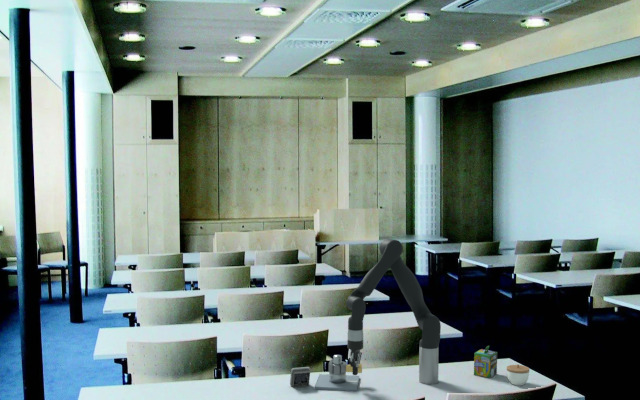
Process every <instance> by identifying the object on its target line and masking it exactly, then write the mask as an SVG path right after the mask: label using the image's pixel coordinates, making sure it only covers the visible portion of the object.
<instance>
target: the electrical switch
mask: <svg viewBox="0 0 640 400" xmlns="http://www.w3.org/2000/svg"><path fill="white" fill-rule="evenodd" d="M310 371H311V367H310V366H304V367H303V366H302V367H293V368H291V369H290V379H289V385H290V386H291V387H293V388H301V387H302V388H305V387H309V386H310V377H311V372H310Z"/></svg>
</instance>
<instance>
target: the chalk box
mask: <svg viewBox="0 0 640 400" xmlns="http://www.w3.org/2000/svg"><path fill="white" fill-rule="evenodd" d="M489 349H490V345H487V346H486V347H485V349H483V348H481V349H479V350H477V351H475V352H474V353H473V354H474V357H473V359H474V360H473V375H474V376H477V377H478V376H479V377H484V378H488V379H491V378H492V377H494V376H495V375H497V374H498V351H494V350H489Z"/></svg>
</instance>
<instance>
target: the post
mask: <svg viewBox="0 0 640 400" xmlns="http://www.w3.org/2000/svg"><path fill="white" fill-rule="evenodd" d="M332 357H333V358H332V359H333V364H334V365H341V364H342V360H343V358H342V357H343V355H341V354H334V355H333V356H332ZM328 373H329V374H328V375H329V382H331V383H335V384H341V383H345V382H346V375H347V372H346V373H343V374H334V373H333V374H332V373H330V372H329V371H328Z"/></svg>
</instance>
